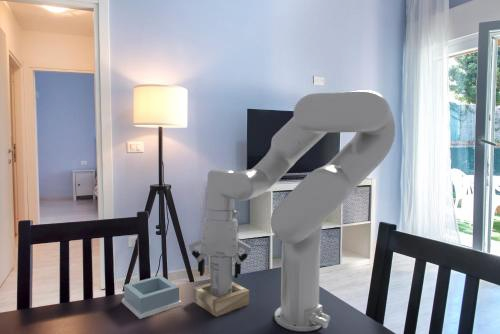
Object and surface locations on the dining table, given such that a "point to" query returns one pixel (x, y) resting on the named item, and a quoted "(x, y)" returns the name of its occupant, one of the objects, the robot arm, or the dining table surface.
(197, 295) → the wooden open box
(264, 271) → the dining table surface
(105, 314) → the dining table surface
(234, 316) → the dining table surface
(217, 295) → the energy drink can
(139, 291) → the port socket
